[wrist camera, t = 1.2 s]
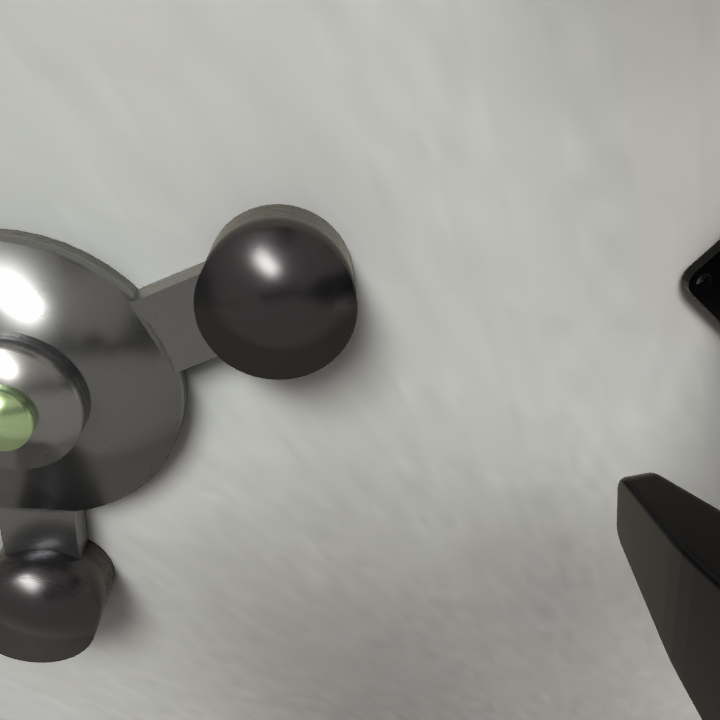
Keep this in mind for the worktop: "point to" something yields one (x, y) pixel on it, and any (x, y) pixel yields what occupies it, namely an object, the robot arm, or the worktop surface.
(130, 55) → the worktop surface
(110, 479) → the tribrach
